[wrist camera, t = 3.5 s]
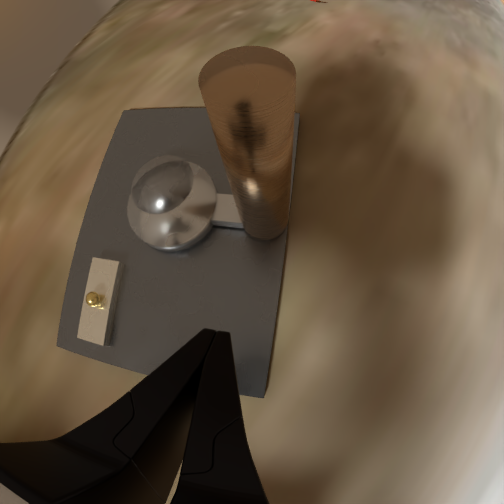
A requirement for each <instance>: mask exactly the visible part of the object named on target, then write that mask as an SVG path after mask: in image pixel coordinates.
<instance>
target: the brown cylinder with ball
mask: <svg viewBox="0 0 504 504" xmlns="http://www.w3.org/2000/svg"><path fill="white" fill-rule="evenodd" d="M198 82H199V87H200V90H201V94H202V97H203V100H204V103H205V107H206V110H207V113H208V116H209V120H210V123H211V126H212V129H213V133H214V136H215V139H216V142H217V145H218V149H219V152H220V155H221V158H222V162H223V165H224V168H225V171H226V175H227V178H228V181H229V184H230V188H231V191H232V194H233V195H229V194H217V191H216V188H215V186H214V183H213V181H212V179H211V177H210V176H209V174H208V173H207V172H206V171H205V170H204V169H203V168H201V167H200V166H198V165H196V164H194V163H192V162H188V161H185V160H184V159H182V158H180V157H178V156H174V155H164V156H159V157H156V158H154V159H152V160H150V161H149V162H147V163H146V164H144V165H143V166H142V167H141V168H140V170H139V171H138V172H137V174H136V175H135V177H134V180H133V182H132V187H131V194H130V196H129V200H128V206H127V215H128V220H129V223H130V226H131V228H132V230H133V231H134V232H135V234H136V235H137V236H138V237H139V238H141V239H142V240H143V241H144V242H146V243H147V244H148V245H149V246H151V247H153V248H155V249H158V250H161V251H169V252H172V251H180V250H184V249H187V248H189V247H191V246H193V245H195V244H196V243H198V242H199V241H201V240H202V239H203V238H204V237H205V236H206V235H207V234H208V233H209V231H210V230H211V229H212V227H213V225H218V226H227V227H236V228H244V230H245V231H246V232H247V233H248V234H249V235H250V236H252V237H254V238H256V239H261V240H268V239H272V238H275V237H277V236H279V235H280V234H281V233H282V232H283V231H284V230H285V228H286V226H287V224H288V219H289V204H290V189H291V172H292V155H293V135H294V114H295V89H296V70H295V67H294V65H293V63H292V62H291V61H290V59H289V58H288V57H286V56H285V55H284V54H282V53H280V52H278V51H276V50H273V49H270V48H266V47H260V46H243V47H237V48H233V49H229V50H226V51H224V52H222V53H220V54H218V55H216V56H215V57H213V58H212V59H210V60H209V61H208V62H207V63H206V64H205V65H204V67H203V68H202V70H201V72H200V75H199V80H198Z"/></svg>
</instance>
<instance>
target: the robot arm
mask: <svg viewBox="0 0 504 504" xmlns="http://www.w3.org/2000/svg"><path fill="white" fill-rule="evenodd" d="M182 460H183V462H182ZM181 463H182V467H181V472H180V477H179V481H178V485H177V489H176V492H175V494H174V496H173V498H172V500H171V503H170V504H269V502H268V500H267V497H266V495H265V492H264V489H263V487H262V484H261V481H260V479H259V476H258V473H257V470H256V467H255V465H254V462H253V459H252V456H251V453H250V449H249V446H248V442H247V437H246V433H245V427H244V421H243V416H242V409H241V403H240V396H239V389H238V383H237V376H236V369H235V362H234V355H233V348H232V341H231V334H230V332H226V331H220V330H219V331H216V330H214V329H208V328H204V329H202V330H201V331H200V332H199V333H197V334H196V335H195V336H194V337H193V338H192V339H190V340H189V341H188V342H187V343H186V344H185V345H183V346H182V347H181V348H180V349H179V350H178V351H176V352H175V353H174V354H173V355H172V356H170V357H169V358H168V359H167V360H166V361H164V362H163V363H162V364H161V365H160V366H159V367H157V368H156V369H155V370H154V371H153V372H151V373H150V374H149V375H148V376H147V377H145V378H144V379H143V380H142V381H141V382H139V383H138V384H137V385H136V386H135V387H133V388H132V389H131V390H130V391H128V392H127V393H126V394H125V395H123V396H122V397H121V398H120V399H118V400H117V401H116V402H115V403H113V404H112V405H111V406H109V407H108V408H107V409H105V410H104V411H102V412H101V413H99V414H98V415H96V416H94V417H93V418H91V419H90V420H88V421H86V422H85V423H83V424H82V425H80V426H78V427H77V428H75V429H73V430H72V431H70V432H68V433H67V434H65V435H63V436H61V437H58V438H55V439H52V440H47V441H34V442H18V443H0V504H165V503H166V501H167V498H168V496H169V493H170V491H171V488H172V486H173V483H174V480H175V478H176V475H177V473H178V470H179V468H180V465H181Z"/></svg>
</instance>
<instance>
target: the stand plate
mask: <svg viewBox="0 0 504 504" xmlns="http://www.w3.org/2000/svg"><path fill="white" fill-rule="evenodd" d="M299 116H300V113H295V114H294V135H293V155H292V172H291V189H290V204H291V195H292V186H293V177H294V167H295V158H296V148H297V138H298V127H299ZM164 155H174V156H178V157H180V158H182V159H184V160H185V161H188V162H192V163H194V164H196V165H198V166H200V167H201V168H203V169H204V170H205V171H206V172H207V173H208V174H209V176H210V177H211V179H212V181H213V183H214V186H215V188H216V191H217V194H229V195H233V194H232V191H231V188H230V184H229V181H228V178H227V175H226V171H225V168H224V165H223V162H222V158H221V155H220V152H219V149H218V145H217V142H216V139H215V136H214V133H213V129H212V126H211V123H210V120H209V116H208V113H207V110H206V108H160V109H139V110H124V111H123V113H122V115H121V118H120V120H119V122H118V125H117V127H116V129H115V132H114V134H113V137H112V139H111V141H110V144H109V146H108V149H107V152H106V154H105V157H104V159H103V162H102V165H101V168H100V170H99V173H98V176H97V179H96V182H95V184H94V187H93V190H92V193H91V196H90V200H89V203H88V206H87V209H86V212H85V216H84V219H83V222H82V226H81V229H80V233H79V237H78V240H77V244H76V248H75V252H74V256H73V260H72V264H71V268H70V273H69V277H68V282H67V287H66V292H65V297H64V302H63V307H62V313H61V319H60V325H59V331H58V338H57V346H58V347H61V348H63V349H66V350H69V351H72V352H74V353H77V354H80V355H83V356H86V357H89V358H92V359H95V360H98V361H101V362H105V363H108V364H111V365H114V366H118V367H121V368H124V369H128V370H131V371H135V372H139V373H142V374H146V375H149V374H150V373H151V372H153V371H154V370H155V369H156V368H157V367H159V366H160V365H161V364H162V363H163V362H164V361H166V360H167V359H168V358H169V357H170V356H172V355H173V354H174V353H175V352H176V351H178V350H179V349H180V348H181V347H182V346H183V345H185V344H186V343H187V342H188V341H189V340H190V339H192V338H193V337H194V336H195V335H196V334H197V333H199V332H200V331H201V330H202V329H204V328H208V329H214V330H216V331H219V330H220V331H226V332H230V334H231V341H232V348H233V355H234V362H235V369H236V376H237V383H238V389H239V395H245V396H252V397H258V398H264V394H265V388H266V382H267V375H268V369H269V362H270V356H271V349H272V342H273V335H274V328H275V321H276V314H277V307H278V300H279V292H280V285H281V277H282V270H283V262H284V254H285V246H286V238H287V230H288V224H287V226H286V228H285V230H284V231H283V232H282V233H281V234H280V235H279V236H277V237H275V238H272V239H268V240H261V239H256V238H254V237H252V236H250V235H249V234H248V233H247V232H246V231H245V230H244V228H236V227H227V226H218V225H213V227H212V229H211V230H210V231H209V233H208V234H207V235H206V236H205V237H204V238H203V239H202V240H201V241H199V242H198V243H196V244H195V245H193V246H191V247H189V248H187V249H184V250H180V251H172V252H169V251H161V250H158V249H155V248H153V247H151V246H149V245H148V244H147V243H146V242H144V241H143V240H142V239H141V238H139V237H138V236H137V235H136V234H135V232H134V231H133V230H132V228H131V226H130V223H129V220H128V215H127V206H128V200H129V196H130V194H131V187H132V182H133V180H134V177H135V175H136V174H137V172H138V171H139V170H140V168H141V167H142V166H143V165H144V164H146V163H147V162H149V161H150V160H152V159H154V158H156V157H159V156H164ZM290 204H289V213H290ZM288 221H289V219H288Z"/></svg>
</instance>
